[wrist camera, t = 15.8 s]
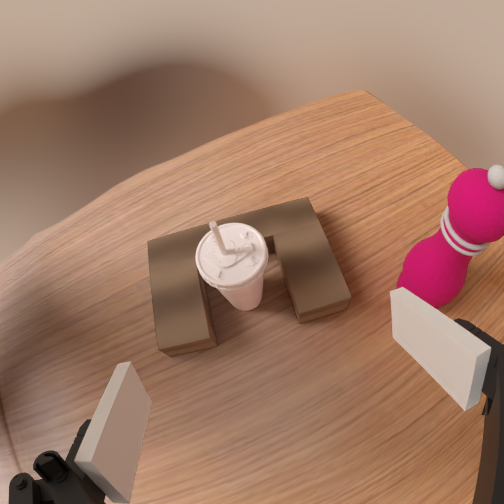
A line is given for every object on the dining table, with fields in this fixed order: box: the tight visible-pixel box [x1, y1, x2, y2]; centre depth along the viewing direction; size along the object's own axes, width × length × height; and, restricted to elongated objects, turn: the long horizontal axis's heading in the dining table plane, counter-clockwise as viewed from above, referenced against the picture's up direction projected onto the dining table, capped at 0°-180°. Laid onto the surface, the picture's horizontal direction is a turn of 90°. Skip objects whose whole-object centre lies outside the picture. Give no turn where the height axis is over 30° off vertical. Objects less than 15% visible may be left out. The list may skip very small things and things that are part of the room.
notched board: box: [147, 197, 351, 357], centre depth 35 cm, size 14×20×4 cm
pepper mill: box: [397, 165, 504, 309], centre depth 24 cm, size 7×7×20 cm
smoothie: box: [195, 221, 269, 311], centre depth 29 cm, size 6×6×14 cm
